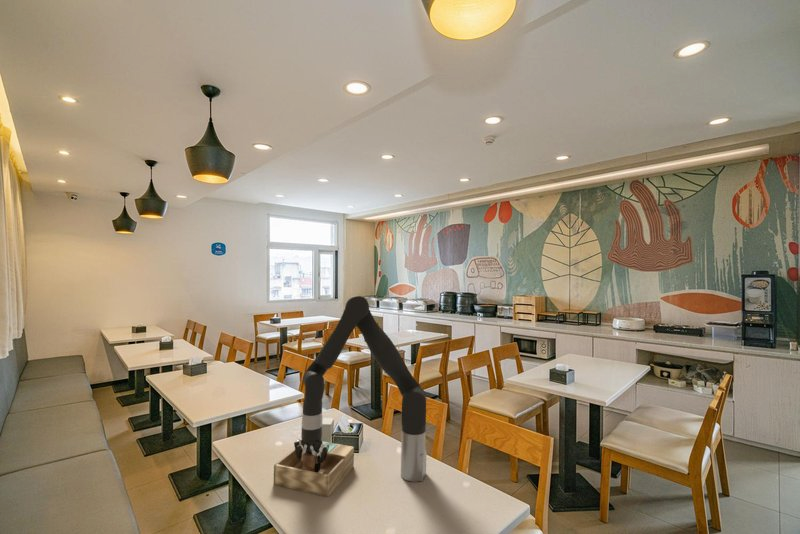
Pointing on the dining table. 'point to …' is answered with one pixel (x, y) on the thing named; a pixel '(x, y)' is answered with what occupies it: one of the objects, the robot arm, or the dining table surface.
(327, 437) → the supplement box
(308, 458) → the block
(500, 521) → the dining table surface
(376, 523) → the dining table surface
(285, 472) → the crate
